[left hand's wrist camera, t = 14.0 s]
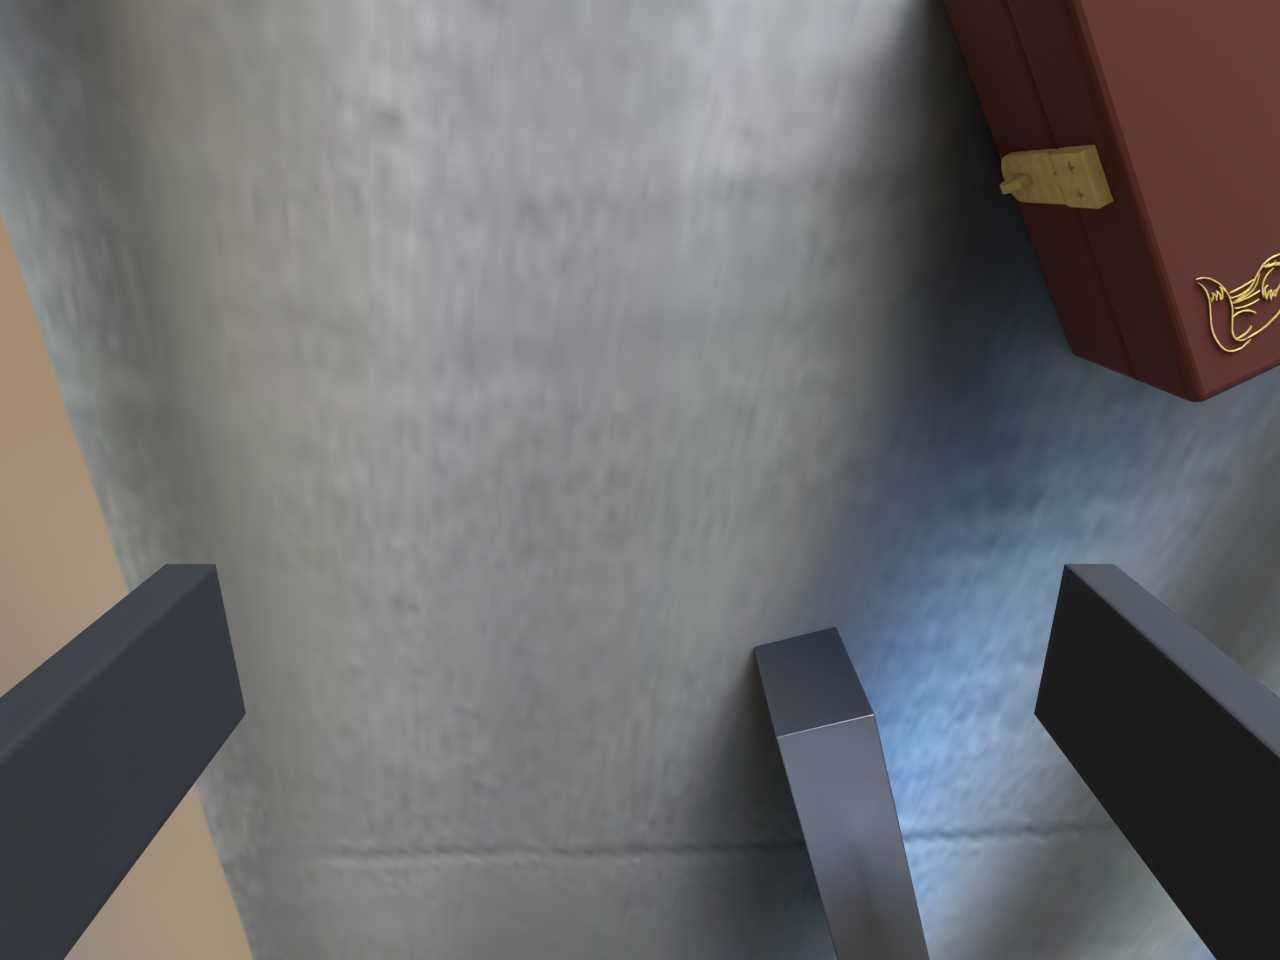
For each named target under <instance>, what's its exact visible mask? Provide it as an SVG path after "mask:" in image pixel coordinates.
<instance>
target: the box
mask: <svg viewBox="0 0 1280 960" xmlns="http://www.w3.org/2000/svg"><path fill="white" fill-rule="evenodd" d="M943 3H944V5H945V8H946V11H947V13H948V16H949V19H950V22H951V24H952V27H953V30H954V32H955V35H956V38H957V41H958V43H959V46H960V49H961V51H962V54H963V57H964V60H965V62H966V65H967V68H968V70H969V73H970V76H971V79H972V81H973V84H974V87H975V90H976V92H977V95H978V98H979V100H980V103H981V106H982V109H983V111H984V114H985V117H986V119H987V122H988V125H989V128H990V130H991V133H992V136H993V138H994V141H995V144H996V147H997V149H998V152H999V155H1000V157H1001V160H1002V161H1001V169H1002V174H1003V178H1004V180H1005V181H1003V182H1002V183H1001V184H1000V188H1001V190H1002V193H1003V194H1008V193H1012V195H1013V196H1014V197H1015V198H1016V201H1017V204H1018V206H1019V209H1020V212H1021V214H1022V217H1023V220H1024V223H1025V225H1026V228H1027V231H1028V234H1029V236H1030V239H1031V242H1032V244H1033V247H1034V250H1035V253H1036V255H1037V258H1038V261H1039V263H1040V266H1041V269H1042V272H1043V274H1044V277H1045V280H1046V282H1047V285H1048V288H1049V291H1050V293H1051V296H1052V299H1053V301H1054V304H1055V307H1056V310H1057V312H1058V315H1059V318H1060V320H1061V323H1062V326H1063V329H1064V331H1065V334H1066V337H1067V339H1068V342H1069V345H1070V348H1071V350H1072V353H1073V354H1074V355H1076V356H1078V357H1081V358H1083V359H1086V360H1088V361H1091V362H1093V363H1096V364H1098V365H1101V366H1103V367H1106V368H1108V369H1111V370H1113V371H1116V372H1118V373H1121V374H1123V375H1126V376H1128V377H1131V378H1133V379H1136V380H1138V381H1141V382H1143V383H1146V384H1148V385H1151V386H1153V387H1156V388H1158V389H1161V390H1163V391H1166V392H1168V393H1171V394H1173V395H1176V396H1178V397H1181V398H1183V399H1186V400H1188V401H1191V402H1202V401H1205V400H1207V399H1209V398H1211V397H1213V396H1215V395H1217V394H1220V393H1222V392H1224V391H1226V390H1228V389H1230V388H1232V387H1234V386H1236V385H1239V384H1241V383H1243V382H1245V381H1247V380H1249V379H1251V378H1253V377H1255V376H1258V375H1260V374H1262V373H1264V372H1266V371H1268V370H1270V369H1272V368H1275V367H1277V366H1279V365H1280V0H943Z"/></svg>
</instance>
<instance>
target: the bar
mask: <svg viewBox="0 0 1280 960" xmlns="http://www.w3.org/2000/svg"><path fill="white" fill-rule="evenodd" d="M754 650H755V654H756V659H757V663H758V667H759V671H760V675H761V679H762V683H763V687H764V691H765V696H766V700H767V704H768V708H769V712H770V716H771V720H772V724H773V728H774V732H775V737H776V740H777V744H778V748H779V751H780V755H781V758H782V762H783V766H784V769H785V773H786V776H787V780H788V784H789V787H790V791H791V794H792V798H793V801H794V805H795V809H796V812H797V816H798V819H799V823H800V827H801V830H802V834H803V837H804V841H805V845H806V848H807V852H808V855H809V859H810V863H811V866H812V870H813V873H814V877H815V881H816V884H817V888H818V891H819V895H820V899H821V902H822V906H823V909H824V913H825V917H826V920H827V924H828V927H829V931H830V935H831V938H832V942H833V945H834V949H835V952H836V956H837V960H929V956H928V951H927V947H926V942H925V938H924V933H923V929H922V924H921V920H920V915H919V911H918V906H917V902H916V897H915V893H914V889H913V884H912V880H911V875H910V871H909V866H908V862H907V857H906V853H905V848H904V844H903V839H902V835H901V831H900V826H899V822H898V817H897V813H896V808H895V804H894V799H893V795H892V790H891V786H890V781H889V777H888V772H887V768H886V764H885V759H884V755H883V750H882V746H881V741H880V737H879V732H878V728H877V723H876V719H875V715H874V712H873V710H872V708H871V706H870V703H869V701H868V699H867V696H866V694H865V692H864V690H863V687H862V685H861V683H860V681H859V678H858V676H857V674H856V671H855V669H854V667H853V665H852V662H851V660H850V658H849V656H848V653H847V651H846V649H845V646H844V644H843V642H842V640H841V637H840V635H839V633H838V631H837V628H836V627H834V628H830V629H826V630H822V631H818V632H814V633H810V634H806V635H802V636H798V637H793V638H789V639H785V640H781V641H777V642H773V643H769V644H765V645H761V646H757V647H754Z"/></svg>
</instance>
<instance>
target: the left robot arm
mask: <svg viewBox="0 0 1280 960" xmlns="http://www.w3.org/2000/svg"><path fill="white" fill-rule="evenodd" d="M245 714H246V712H245V707H244V702H243V697H242V692H241V688H240V683H239V678H238V673H237V668H236V663H235V658H234V653H233V648H232V644H231V639H230V634H229V629H228V624H227V619H226V614H225V609H224V604H223V599H222V595H221V590H220V585H219V580H218V575H217V570H216V565H215V564H166V565H164V566H163V567H162V568H161V569H159V570H158V571H157V572H156V573H154V574H153V575H152V576H151V577H150V578H148V579H147V580H146V581H145V582H143V583H142V584H141V585H140V586H138V587H137V588H136V589H135V590H133V591H132V592H131V593H130V594H128V595H127V596H126V597H125V598H123V599H122V600H121V601H120V602H119V603H117V604H116V605H115V606H114V607H112V608H111V609H110V610H109V611H107V612H106V613H105V614H104V615H102V616H101V617H100V618H99V619H97V620H96V621H95V622H94V623H93V624H91V625H90V626H89V627H88V628H86V629H85V630H84V631H83V632H81V633H80V634H79V635H78V636H76V637H75V638H74V639H73V640H71V641H70V642H69V643H68V644H67V645H65V646H64V647H63V648H62V649H60V650H59V651H58V652H57V653H55V654H54V655H53V656H52V657H50V658H49V659H48V660H47V661H45V662H44V663H43V664H42V665H41V666H39V667H38V668H37V669H36V670H34V671H33V672H32V673H31V674H29V675H28V676H27V677H26V678H24V679H23V680H22V681H21V682H19V683H18V684H17V685H16V686H15V687H13V688H12V689H11V690H9V691H8V692H7V693H6V694H5V695H3V696H2V697H1V698H0V960H64V958H65V957H66V956H67V954H68V953H69V951H70V950H71V949H72V947H73V946H74V945H75V943H76V942H77V941H78V939H79V938H80V937H81V935H82V934H83V932H84V931H85V930H86V928H87V927H88V926H89V924H90V923H91V922H92V920H93V919H94V918H95V916H96V915H97V914H98V912H99V911H100V910H101V908H102V907H103V906H104V904H105V903H106V902H107V900H108V899H109V897H110V896H111V895H112V893H113V892H114V891H115V889H116V888H117V887H118V885H119V884H120V883H121V881H122V880H123V879H124V877H125V876H126V875H127V873H128V872H129V871H130V869H131V868H132V866H133V865H134V864H135V862H136V861H137V860H138V858H139V857H140V856H141V854H142V853H143V852H144V850H145V849H146V848H147V846H148V845H149V843H150V842H151V841H152V839H153V838H154V837H155V835H156V834H157V833H158V831H159V830H160V829H161V827H162V826H163V825H164V823H165V822H166V821H167V819H168V818H169V817H170V815H171V814H172V812H173V811H174V810H175V808H176V807H177V806H178V804H179V803H180V802H181V800H182V799H183V798H184V796H185V795H186V794H187V792H188V791H189V790H190V788H191V787H192V785H193V784H194V783H195V781H196V780H197V779H198V777H199V776H200V775H201V773H202V772H203V771H204V769H205V768H206V767H207V765H208V764H209V763H210V761H211V760H212V759H213V757H214V756H215V754H216V753H217V752H218V750H219V749H220V748H221V746H222V745H223V744H224V742H225V741H226V740H227V738H228V737H229V736H230V734H231V733H232V732H233V730H234V729H235V727H236V726H237V725H238V723H239V722H240V721H241V719H242V718H243V717H244V715H245ZM1034 714H1035V715H1036V717H1037V718H1038V719H1039V721H1040V722H1041V723H1042V725H1043V726H1044V727H1045V729H1046V730H1047V732H1048V733H1049V734H1050V736H1051V737H1052V738H1053V740H1054V741H1055V742H1056V744H1057V745H1058V746H1059V748H1060V749H1061V750H1062V752H1063V753H1064V754H1065V756H1066V757H1067V759H1068V760H1069V761H1070V763H1071V764H1072V765H1073V767H1074V768H1075V769H1076V771H1077V772H1078V773H1079V775H1080V776H1081V777H1082V779H1083V780H1084V781H1085V783H1086V784H1087V785H1088V787H1089V788H1090V790H1091V791H1092V792H1093V794H1094V795H1095V796H1096V798H1097V799H1098V800H1099V802H1100V803H1101V804H1102V806H1103V807H1104V808H1105V810H1106V811H1107V812H1108V814H1109V815H1110V817H1111V818H1112V819H1113V821H1114V822H1115V823H1116V825H1117V826H1118V827H1119V829H1120V830H1121V831H1122V833H1123V834H1124V835H1125V837H1126V838H1127V839H1128V841H1129V842H1130V844H1131V845H1132V846H1133V848H1134V849H1135V850H1136V852H1137V853H1138V854H1139V856H1140V857H1141V858H1142V860H1143V861H1144V862H1145V864H1146V865H1147V866H1148V868H1149V869H1150V871H1151V872H1152V873H1153V875H1154V876H1155V877H1156V879H1157V880H1158V881H1159V883H1160V884H1161V885H1162V887H1163V888H1164V889H1165V891H1166V892H1167V893H1168V895H1169V896H1170V897H1171V899H1172V900H1173V902H1174V903H1175V904H1176V906H1177V907H1178V908H1179V910H1180V911H1181V912H1182V914H1183V915H1184V916H1185V918H1186V919H1187V920H1188V922H1189V923H1190V924H1191V926H1192V927H1193V929H1194V930H1195V931H1196V933H1197V934H1198V935H1199V937H1200V938H1201V939H1202V941H1203V942H1204V943H1205V945H1206V946H1207V947H1208V949H1209V950H1210V951H1211V953H1212V954H1213V956H1214V957H1215V958H1216V960H1280V698H1279V697H1278V696H1277V695H1275V694H1274V693H1273V692H1272V691H1271V690H1269V689H1268V688H1267V687H1266V686H1264V685H1263V684H1262V683H1261V682H1259V681H1258V680H1257V679H1256V678H1254V677H1253V676H1252V675H1251V674H1249V673H1248V672H1247V671H1246V670H1244V669H1243V668H1242V667H1241V666H1240V665H1238V664H1237V663H1236V662H1235V661H1233V660H1232V659H1231V658H1230V657H1228V656H1227V655H1226V654H1225V653H1223V652H1222V651H1221V650H1220V649H1218V648H1217V647H1216V646H1215V645H1214V644H1212V643H1211V642H1210V641H1209V640H1207V639H1206V638H1205V637H1204V636H1202V635H1201V634H1200V633H1199V632H1197V631H1196V630H1195V629H1194V628H1192V627H1191V626H1190V625H1189V624H1187V623H1186V622H1185V621H1184V620H1183V619H1181V618H1180V617H1179V616H1178V615H1176V614H1175V613H1174V612H1173V611H1171V610H1170V609H1169V608H1168V607H1166V606H1165V605H1164V604H1163V603H1161V602H1160V601H1159V600H1158V599H1157V598H1155V597H1154V596H1153V595H1152V594H1150V593H1149V592H1148V591H1147V590H1145V589H1144V588H1143V587H1142V586H1140V585H1139V584H1138V583H1137V582H1135V581H1134V580H1133V579H1132V578H1130V577H1129V576H1128V575H1127V574H1126V573H1124V572H1123V571H1122V570H1121V569H1119V568H1118V567H1117V566H1116V565H1114V564H1065V565H1064V570H1063V575H1062V580H1061V585H1060V590H1059V595H1058V599H1057V604H1056V609H1055V614H1054V619H1053V624H1052V629H1051V634H1050V639H1049V644H1048V648H1047V653H1046V658H1045V663H1044V668H1043V673H1042V678H1041V683H1040V688H1039V692H1038V697H1037V702H1036V707H1035V712H1034Z"/></svg>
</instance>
